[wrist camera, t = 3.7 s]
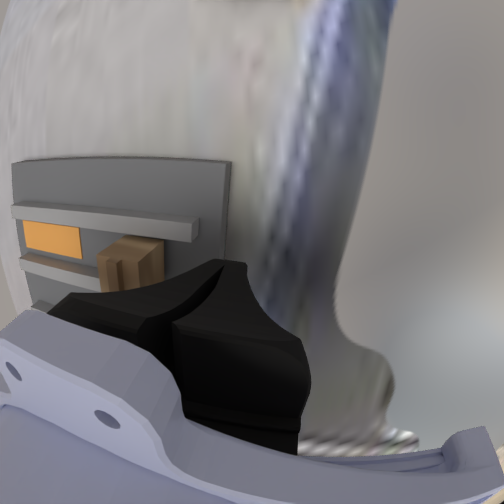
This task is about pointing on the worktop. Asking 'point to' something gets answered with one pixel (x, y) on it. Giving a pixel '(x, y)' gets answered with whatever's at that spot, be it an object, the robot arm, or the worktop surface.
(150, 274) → the oak tab
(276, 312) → the worktop surface
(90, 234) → the switch board
